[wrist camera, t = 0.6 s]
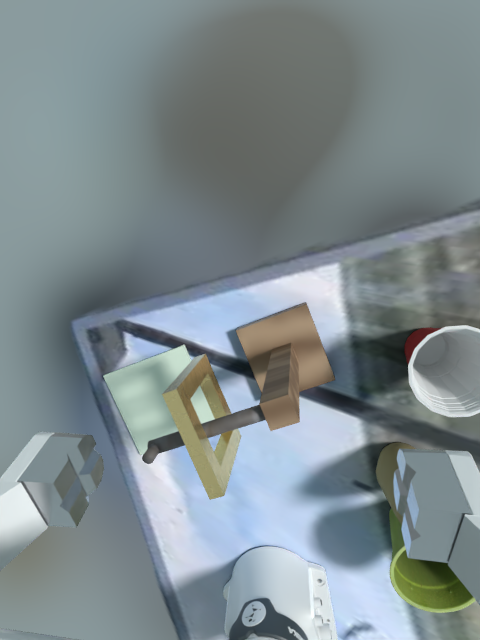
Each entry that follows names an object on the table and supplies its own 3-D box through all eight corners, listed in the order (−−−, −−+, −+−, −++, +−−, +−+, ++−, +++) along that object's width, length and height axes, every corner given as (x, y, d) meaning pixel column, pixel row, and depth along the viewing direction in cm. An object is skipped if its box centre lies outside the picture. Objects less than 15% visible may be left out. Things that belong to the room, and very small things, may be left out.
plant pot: (357, 515, 61) (370, 574, 50) (410, 467, 58) (436, 519, 48) (413, 560, 62) (439, 629, 51) (469, 515, 59) (509, 577, 48)
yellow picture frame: (241, 436, 50) (224, 495, 38) (230, 439, 50) (209, 499, 38) (205, 353, 48) (176, 389, 36) (194, 357, 48) (161, 394, 37)
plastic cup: (456, 298, 53) (501, 315, 41) (472, 370, 54) (520, 405, 43) (377, 320, 55) (398, 341, 43) (395, 388, 56) (421, 426, 45)
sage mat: (221, 427, 62) (220, 429, 61) (142, 453, 65) (140, 455, 64) (184, 344, 60) (183, 345, 59) (104, 374, 63) (102, 375, 62)
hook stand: (334, 375, 57) (356, 456, 36) (212, 415, 62) (166, 509, 40) (305, 302, 56) (311, 340, 34) (182, 348, 60) (118, 408, 38)
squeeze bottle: (433, 473, 58) (492, 573, 41) (381, 488, 60) (416, 589, 42) (415, 427, 57) (467, 509, 40) (363, 444, 59) (391, 529, 41)
